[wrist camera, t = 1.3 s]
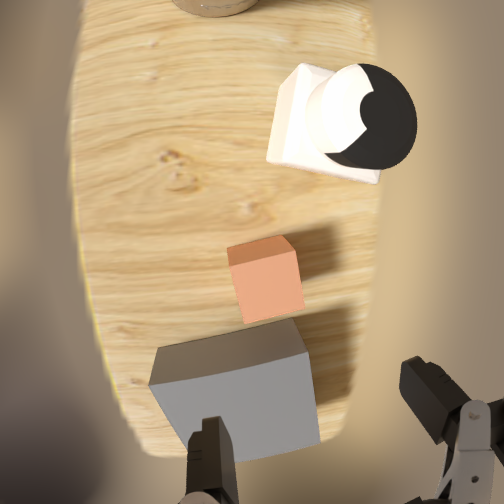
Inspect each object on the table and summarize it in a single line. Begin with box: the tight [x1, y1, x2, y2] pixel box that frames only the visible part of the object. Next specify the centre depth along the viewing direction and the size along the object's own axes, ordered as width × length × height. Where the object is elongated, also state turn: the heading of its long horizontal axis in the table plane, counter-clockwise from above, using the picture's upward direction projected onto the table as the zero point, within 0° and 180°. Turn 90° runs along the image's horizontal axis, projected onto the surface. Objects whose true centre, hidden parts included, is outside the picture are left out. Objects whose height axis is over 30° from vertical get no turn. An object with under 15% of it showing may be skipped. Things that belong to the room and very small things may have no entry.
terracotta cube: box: [227, 235, 305, 324], centre depth 25 cm, size 5×5×5 cm
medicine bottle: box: [266, 63, 417, 184], centre depth 19 cm, size 7×7×12 cm
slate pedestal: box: [148, 318, 321, 463], centre depth 29 cm, size 14×14×6 cm
